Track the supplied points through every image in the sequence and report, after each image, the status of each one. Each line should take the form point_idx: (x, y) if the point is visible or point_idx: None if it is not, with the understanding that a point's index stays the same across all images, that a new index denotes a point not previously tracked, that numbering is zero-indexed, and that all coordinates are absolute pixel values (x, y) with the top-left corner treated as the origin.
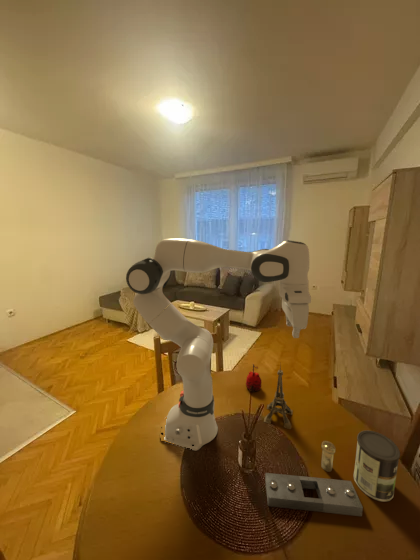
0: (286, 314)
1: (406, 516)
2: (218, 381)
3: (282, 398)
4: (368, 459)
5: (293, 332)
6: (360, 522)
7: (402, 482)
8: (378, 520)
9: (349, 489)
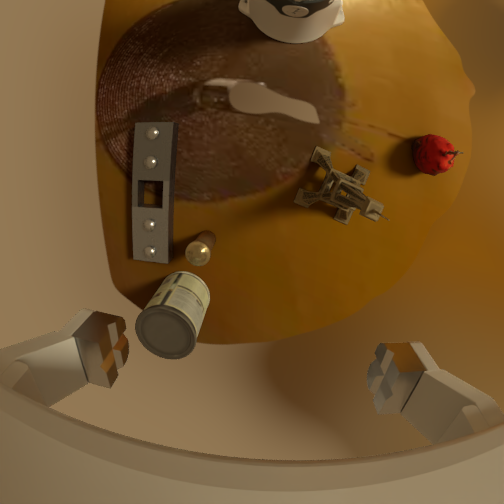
0: (305, 496)
1: None
2: (446, 75)
3: (333, 199)
4: (149, 304)
5: (51, 333)
6: None
7: None
8: (138, 271)
9: (151, 254)
